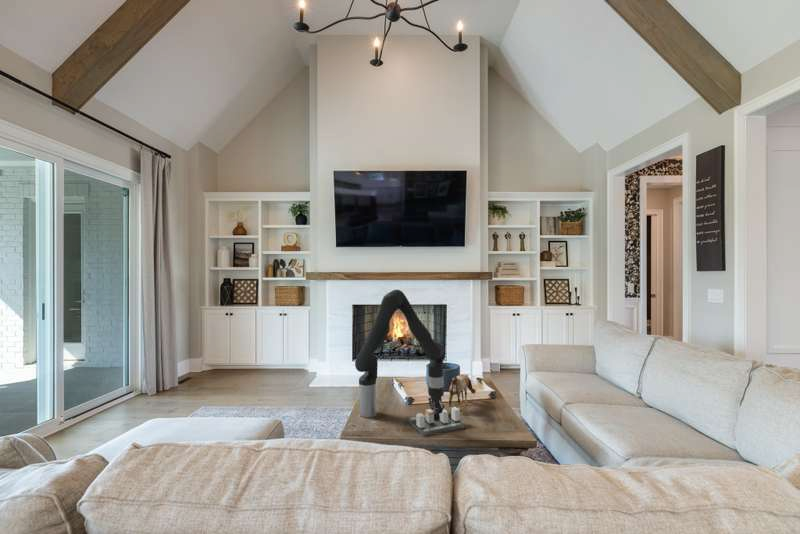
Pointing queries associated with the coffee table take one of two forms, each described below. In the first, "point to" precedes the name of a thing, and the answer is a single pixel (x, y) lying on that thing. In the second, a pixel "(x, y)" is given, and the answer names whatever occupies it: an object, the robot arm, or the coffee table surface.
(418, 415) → the breaker
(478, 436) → the coffee table surface
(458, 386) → the horse figurine
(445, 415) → the breaker
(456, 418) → the breaker
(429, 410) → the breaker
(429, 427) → the panel
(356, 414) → the coffee table surface
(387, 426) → the coffee table surface
